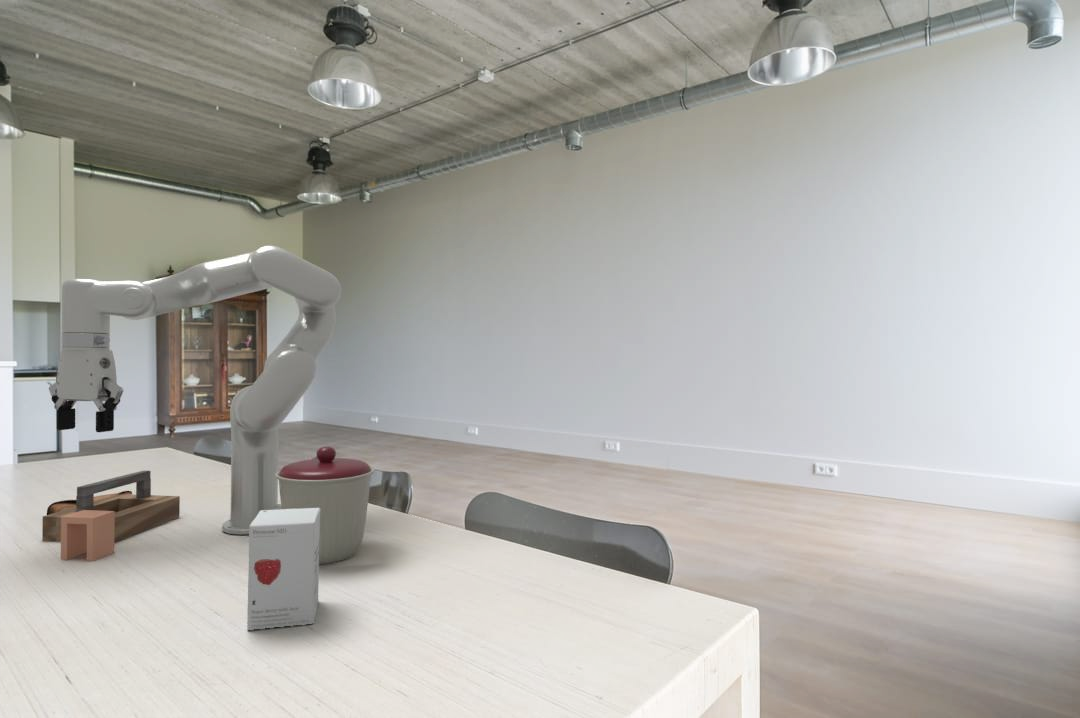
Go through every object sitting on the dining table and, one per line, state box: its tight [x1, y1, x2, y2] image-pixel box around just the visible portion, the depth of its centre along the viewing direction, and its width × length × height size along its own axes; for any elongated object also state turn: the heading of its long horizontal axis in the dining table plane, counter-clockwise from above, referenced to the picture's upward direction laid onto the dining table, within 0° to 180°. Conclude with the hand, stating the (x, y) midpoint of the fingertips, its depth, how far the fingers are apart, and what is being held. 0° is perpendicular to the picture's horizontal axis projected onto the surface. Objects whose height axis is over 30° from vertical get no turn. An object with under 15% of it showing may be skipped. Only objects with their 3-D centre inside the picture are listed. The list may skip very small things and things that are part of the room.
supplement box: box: [246, 508, 320, 631], centre depth 89 cm, size 9×9×15 cm
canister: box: [275, 446, 376, 565], centre depth 115 cm, size 18×18×21 cm
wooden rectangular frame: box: [41, 470, 181, 544], centre depth 131 cm, size 15×20×11 cm
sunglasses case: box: [46, 490, 133, 515], centre depth 144 cm, size 18×7×7 cm, turn 149°
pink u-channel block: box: [60, 510, 115, 562], centre depth 113 cm, size 6×5×8 cm
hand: (85, 430), depth 117 cm, fingers open, 9 cm apart
